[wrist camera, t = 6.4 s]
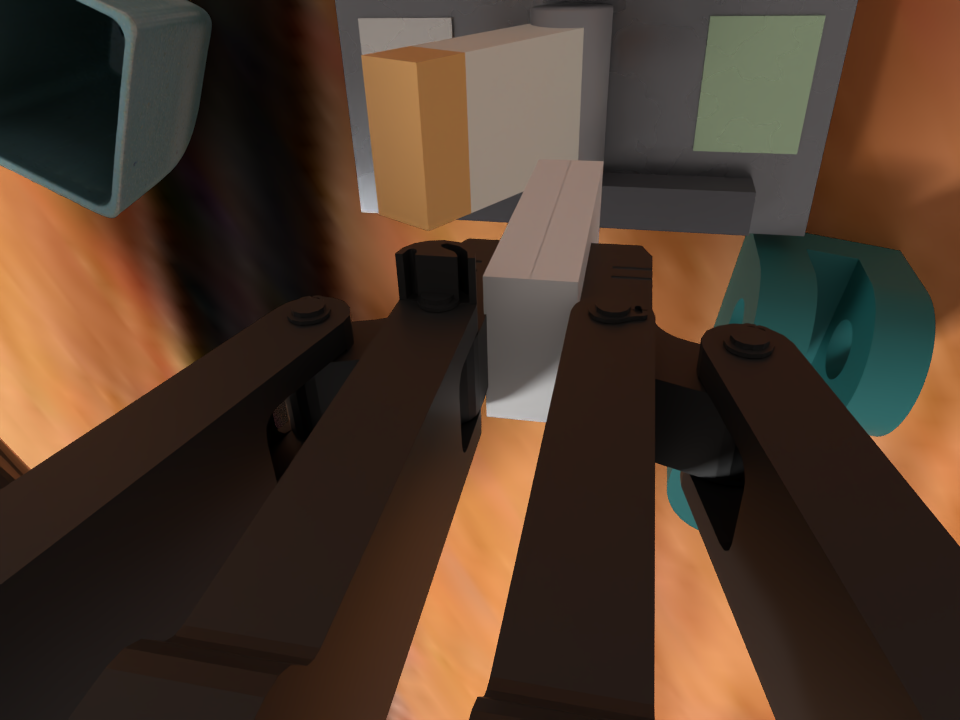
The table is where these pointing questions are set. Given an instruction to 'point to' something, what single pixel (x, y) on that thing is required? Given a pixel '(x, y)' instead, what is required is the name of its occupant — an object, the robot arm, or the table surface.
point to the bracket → (836, 323)
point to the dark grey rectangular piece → (661, 204)
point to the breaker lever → (486, 111)
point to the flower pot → (99, 94)
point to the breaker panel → (663, 86)
